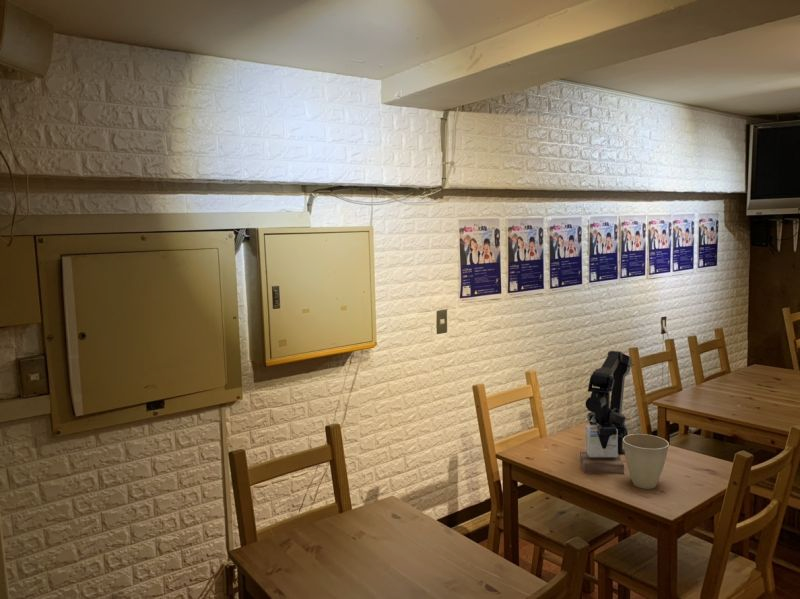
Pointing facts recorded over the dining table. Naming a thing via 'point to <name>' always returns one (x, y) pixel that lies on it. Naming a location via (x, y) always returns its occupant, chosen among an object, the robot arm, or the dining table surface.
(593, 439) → the light bulb box
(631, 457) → the plant pot
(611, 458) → the walnut block
